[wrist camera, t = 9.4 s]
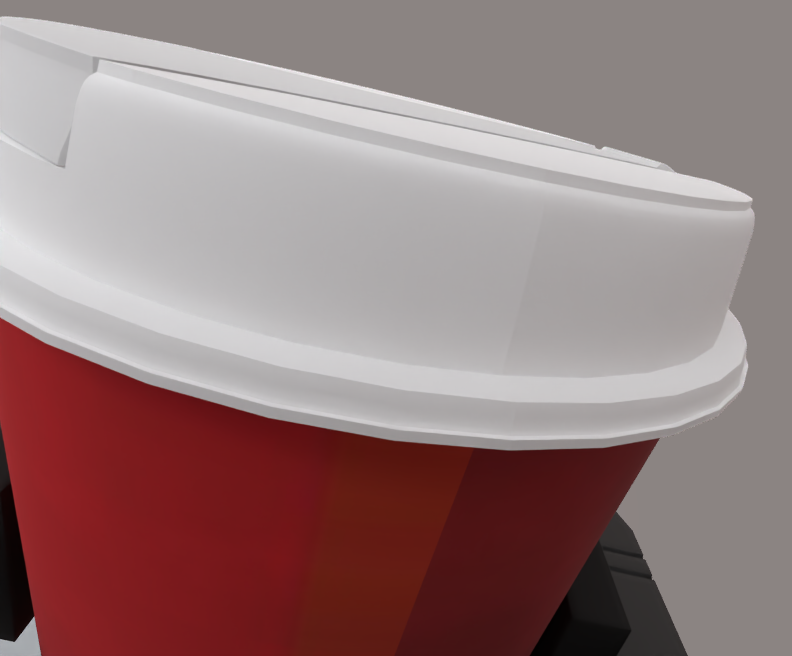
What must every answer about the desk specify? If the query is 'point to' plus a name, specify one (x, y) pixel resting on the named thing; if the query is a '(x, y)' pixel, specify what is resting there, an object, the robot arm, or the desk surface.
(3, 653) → the desk surface
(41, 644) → the coffee cup
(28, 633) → the desk surface
